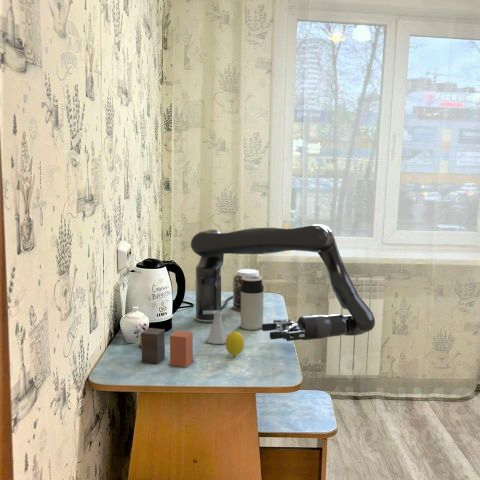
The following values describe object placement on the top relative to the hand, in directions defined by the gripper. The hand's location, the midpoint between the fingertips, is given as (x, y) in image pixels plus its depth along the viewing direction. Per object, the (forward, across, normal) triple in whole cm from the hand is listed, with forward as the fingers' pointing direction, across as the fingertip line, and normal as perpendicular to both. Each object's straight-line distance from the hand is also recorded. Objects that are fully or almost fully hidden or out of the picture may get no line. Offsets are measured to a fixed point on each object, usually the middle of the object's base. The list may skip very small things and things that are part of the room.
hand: (266, 331), depth 185 cm
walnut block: (+34, -4, +7) cm, 35 cm away
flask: (+12, -16, +7) cm, 21 cm away
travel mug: (-3, -27, +7) cm, 28 cm away
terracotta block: (+26, +1, +7) cm, 27 cm away
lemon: (+10, 0, +7) cm, 12 cm away
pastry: (+33, -16, +7) cm, 37 cm away
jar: (-8, -52, +7) cm, 53 cm away
